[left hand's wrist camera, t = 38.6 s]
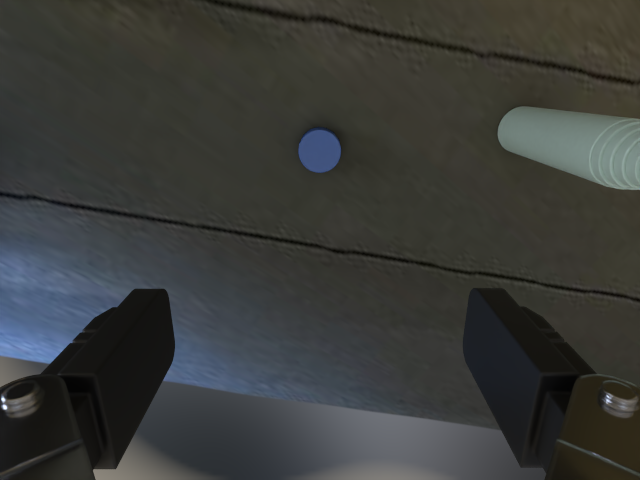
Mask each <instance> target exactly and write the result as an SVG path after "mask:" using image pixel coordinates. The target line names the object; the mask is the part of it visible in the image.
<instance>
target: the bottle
mask: <svg viewBox="0 0 640 480" xmlns="http://www.w3.org/2000/svg"><path fill="white" fill-rule="evenodd" d="M498 139H499V142H500V144H501V145H502V147H503V148H504V149H506V150H507V151H510V152H512V153H515V154H518V155H521V156H523V157H526V158H529V159H532V160H535V161H537V162H540V163H543V164H546V165H548V166H551V167H554V168H557V169H560V170H562V171H565V172H568V173H571V174H573V175H576V176H579V177H582V178H585V179H587V180H590V181H593V182H596V183H598V184H601V185H604V186H607V187H613V188H617V189H630V190H640V119H635V118H626V117H617V116H608V115H600V114H591V113H582V112H573V111H564V110H555V109H546V108H537V107H528V106H521V107H517V108H514V109H512V110H511V111H509V112H508V113H507V114H506V115H505V116H504V117H503V118H502V120H501V122H500V124H499V127H498Z"/></svg>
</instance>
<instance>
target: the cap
mask: <svg viewBox="0 0 640 480" xmlns="http://www.w3.org/2000/svg"><path fill="white" fill-rule="evenodd" d="M299 144H300V145H299V151H298V153H299V158H300V161H301V162H302V164H303V165H304V166H305V167H306V168H307V169H309V170H310V171H313V172H317V173H323V172H327V171H329V170H331V169H332V168H334V167H335V166H336V164H337V163H338V161H339V159H340V156H341V146H340V143H339V139H338V138H337V136H336V135H335V134H334V132H332V131H331V130H329V129H327V128H323V127H317V128H313V129H310V130H309V131H307V132H306V133H305V134H304V135H303V137H302V139H301V141H300V143H299Z"/></svg>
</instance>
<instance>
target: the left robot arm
mask: <svg viewBox="0 0 640 480" xmlns="http://www.w3.org/2000/svg"><path fill="white" fill-rule="evenodd" d="M174 351H175V339H174V332H173V324H172V317H171V310H170V303H169V297H168V293H167V291H166V290H165V289H134V290H133V291H132V292H131V293H130V294H129V295H128V296H127V297H126V298H125V299H124V300H123V302H122V303H121V304H120V305H119V306H118V307H112V308H111V309H109V310H107V311H106V312H104V313H102V314H100V315H99V316H97V317H95V318H94V319H93V320H92V321H91V322H90V323H89V324H88V325H87V326H86V327H85V328H84V329H83V332H82V333H79V335H78V336H77V337H76V338H75V339H74V340H73V343H70V344H69V345H68V346H67V347H66V348H65V349H64V350H63V351H62V352H61V353H60V354H59V355H58V356H57V357H56V358H55V359H54V361H53V362H52V363H51V364H50V365H49V366H48V367H47V368H46V369H45V370H44V371H43V372H42V373H41V374H39V375H32V376H28V377H24V378H21V379H18V380H15V381H12V382H10V383H8V384H6V385H4V386H2V387H0V480H95V477H94V473H93V469H116V468H117V466H118V464H119V462H120V460H121V458H122V456H123V455H124V453H125V451H126V449H127V447H128V445H129V443H130V441H131V439H132V438H133V436H134V434H135V432H136V430H137V428H138V426H139V424H140V423H141V421H142V419H143V417H144V415H145V413H146V411H147V409H148V407H149V406H150V404H151V402H152V400H153V398H154V396H155V394H156V392H157V390H158V388H159V387H160V385H161V383H162V381H163V379H164V377H165V375H166V373H167V372H168V370H169V368H170V366H171V364H172V361H173V357H174ZM463 352H464V357H465V361H466V363H467V365H468V367H469V369H470V371H471V373H472V375H473V377H474V379H475V381H476V383H477V385H478V387H479V388H480V390H481V392H482V394H483V396H484V398H485V400H486V402H487V404H488V406H489V408H490V409H491V411H492V413H493V415H494V417H495V419H496V421H497V423H498V425H499V427H500V429H501V431H502V432H503V434H504V436H505V438H506V440H507V442H508V444H509V446H510V448H511V450H512V452H513V454H514V455H515V457H516V459H517V461H518V463H519V465H520V467H521V468H526V467H527V468H531V467H532V468H534V467H535V468H538V467H539V468H541V467H542V468H543V469H544V470H545V472H546V477H545V480H640V387H638V386H636V385H634V384H632V383H630V382H628V381H625V380H622V379H619V378H616V377H613V376H608V375H601V374H596V373H595V371H594V370H593V369H592V368H591V367H590V366H589V365H588V364H587V363H586V362H585V361H584V360H583V359H582V358H581V357H580V356H579V355H578V354H577V353H576V351H575V350H574V349H573V348H572V347H571V346H570V345H569V344H568V343H567V342H564V339H563V338H562V337H561V336H560V335H559V334H558V333H557V332H555V331H554V328H553V327H552V326H551V325H550V324H549V323H548V322H547V321H546V320H545V319H544V318H543V317H542V316H540V315H538V314H537V313H535V312H533V311H531V310H530V309H528V308H526V307H520V306H519V305H518V304H517V303H516V302H515V301H514V299H513V298H512V297H511V296H510V295H509V294H508V293H507V292H506V290H504V289H503V288H473V289H472V290H471V292H470V295H469V300H468V307H467V315H466V322H465V329H464V337H463Z"/></svg>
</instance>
